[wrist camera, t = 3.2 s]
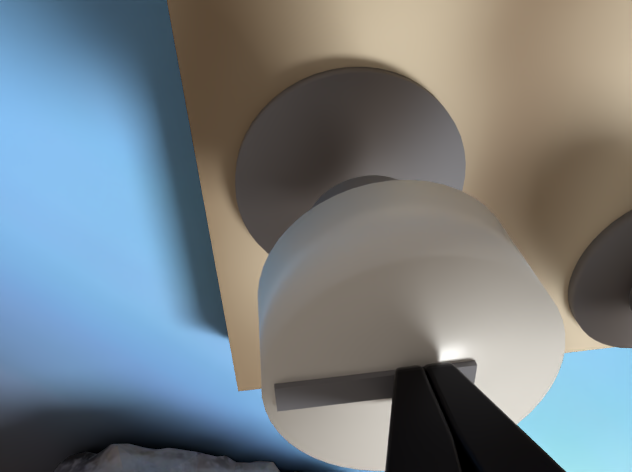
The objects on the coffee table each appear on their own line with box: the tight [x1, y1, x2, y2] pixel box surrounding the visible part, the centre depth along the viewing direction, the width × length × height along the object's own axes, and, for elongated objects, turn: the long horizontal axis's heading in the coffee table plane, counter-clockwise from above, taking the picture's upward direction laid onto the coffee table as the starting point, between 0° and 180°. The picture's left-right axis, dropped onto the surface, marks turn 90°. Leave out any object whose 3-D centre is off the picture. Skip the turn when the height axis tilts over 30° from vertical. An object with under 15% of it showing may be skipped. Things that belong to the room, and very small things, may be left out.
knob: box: [258, 175, 565, 471], centre depth 10 cm, size 5×5×4 cm
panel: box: [167, 0, 632, 391], centre depth 14 cm, size 16×16×2 cm
